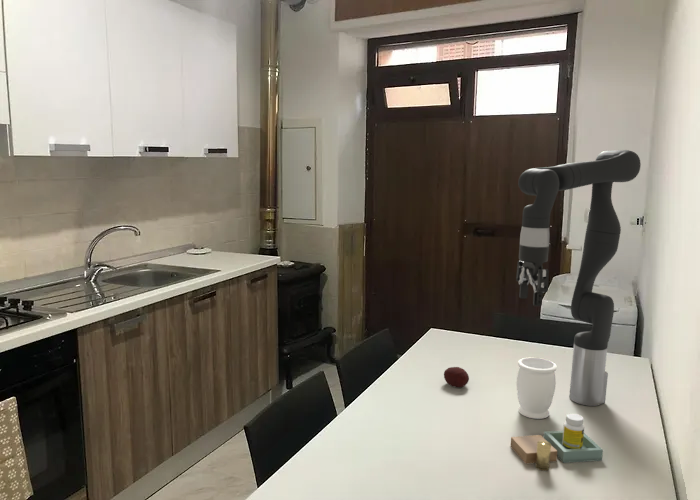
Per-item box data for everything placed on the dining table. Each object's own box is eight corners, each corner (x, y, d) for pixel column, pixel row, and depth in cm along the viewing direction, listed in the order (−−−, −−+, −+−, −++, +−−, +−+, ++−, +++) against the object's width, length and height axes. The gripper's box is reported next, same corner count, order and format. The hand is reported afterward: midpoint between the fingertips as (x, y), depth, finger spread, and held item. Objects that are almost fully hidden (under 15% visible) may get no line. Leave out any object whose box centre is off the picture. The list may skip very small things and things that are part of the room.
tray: (579, 439, 143) (580, 429, 143) (601, 460, 133) (602, 449, 133) (543, 441, 142) (544, 431, 141) (563, 462, 132) (563, 451, 131)
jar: (533, 424, 151) (537, 372, 149) (506, 409, 160) (510, 360, 158) (561, 416, 156) (565, 366, 153) (533, 402, 165) (537, 354, 163)
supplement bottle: (584, 454, 135) (587, 422, 133) (563, 452, 136) (566, 420, 134) (580, 444, 139) (582, 413, 138) (560, 442, 140) (563, 411, 139)
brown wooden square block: (539, 445, 140) (540, 434, 140) (556, 462, 133) (557, 451, 132) (510, 448, 139) (511, 437, 139) (525, 465, 131) (526, 453, 131)
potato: (458, 379, 182) (459, 361, 181) (473, 388, 174) (475, 370, 173) (439, 382, 179) (440, 365, 178) (454, 392, 171) (455, 374, 170)
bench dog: (545, 463, 131) (547, 440, 130) (551, 470, 128) (553, 446, 127) (533, 464, 131) (535, 440, 130) (539, 471, 128) (541, 447, 127)
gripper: (560, 247, 142) (555, 308, 145) (535, 239, 156) (531, 295, 159) (533, 247, 141) (528, 309, 144) (510, 239, 155) (506, 295, 158)
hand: (530, 302), depth 151 cm, fingers open, 8 cm apart
